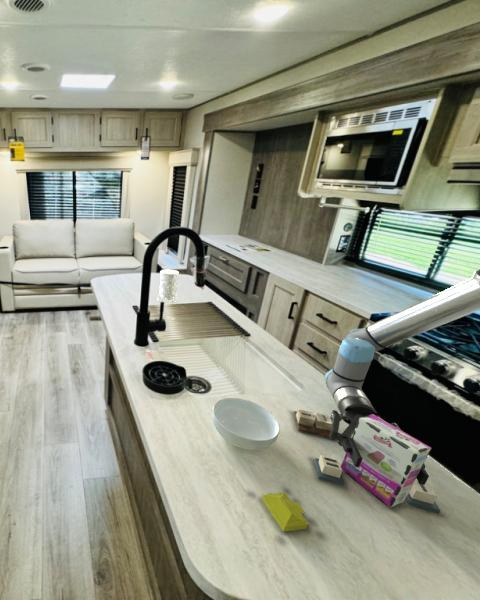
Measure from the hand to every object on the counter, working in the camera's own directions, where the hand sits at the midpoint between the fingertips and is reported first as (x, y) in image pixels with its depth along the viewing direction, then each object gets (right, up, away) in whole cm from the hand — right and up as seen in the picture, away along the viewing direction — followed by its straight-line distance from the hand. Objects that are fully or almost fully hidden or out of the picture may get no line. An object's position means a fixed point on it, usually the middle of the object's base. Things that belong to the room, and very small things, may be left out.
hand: (390, 471), depth 68 cm
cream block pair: (+1, 0, +25) cm, 25 cm away
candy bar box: (+2, -7, +7) cm, 10 cm away
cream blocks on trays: (+2, -7, +7) cm, 10 cm away
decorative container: (-15, +38, +124) cm, 130 cm away
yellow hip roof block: (-23, -10, +1) cm, 25 cm away
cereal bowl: (-22, -2, +22) cm, 31 cm away
